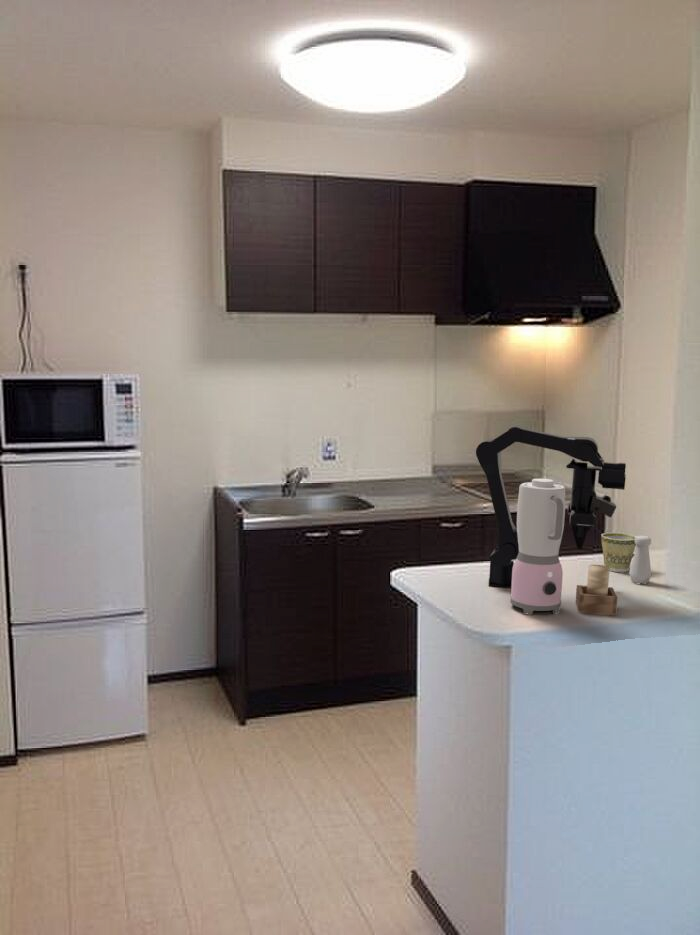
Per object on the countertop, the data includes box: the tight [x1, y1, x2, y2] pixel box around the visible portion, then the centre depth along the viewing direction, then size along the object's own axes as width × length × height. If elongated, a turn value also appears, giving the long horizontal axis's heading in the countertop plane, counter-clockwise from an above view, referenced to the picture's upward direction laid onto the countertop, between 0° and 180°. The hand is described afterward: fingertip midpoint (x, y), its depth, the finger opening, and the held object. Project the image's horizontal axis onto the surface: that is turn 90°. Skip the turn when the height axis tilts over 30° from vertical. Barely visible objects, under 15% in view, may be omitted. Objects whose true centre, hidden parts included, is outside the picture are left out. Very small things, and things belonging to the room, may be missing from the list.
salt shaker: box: [628, 534, 652, 585], centre depth 244 cm, size 6×6×13 cm
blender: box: [510, 478, 566, 615], centre depth 214 cm, size 16×12×32 cm
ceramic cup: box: [600, 531, 637, 573], centre depth 257 cm, size 13×10×10 cm
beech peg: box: [586, 564, 611, 596], centre depth 218 cm, size 5×5×10 cm
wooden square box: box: [575, 584, 618, 617], centre depth 218 cm, size 9×9×5 cm
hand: (578, 545), depth 231 cm, fingers open, 9 cm apart
